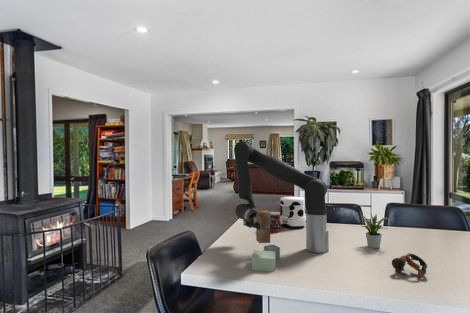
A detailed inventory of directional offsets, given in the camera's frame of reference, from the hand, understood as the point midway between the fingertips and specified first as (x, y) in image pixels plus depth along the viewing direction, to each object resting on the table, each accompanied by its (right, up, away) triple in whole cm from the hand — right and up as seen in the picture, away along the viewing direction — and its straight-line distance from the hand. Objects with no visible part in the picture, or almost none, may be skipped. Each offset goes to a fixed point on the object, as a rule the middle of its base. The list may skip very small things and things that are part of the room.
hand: (265, 226), depth 111 cm
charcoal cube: (+4, -17, +11) cm, 20 cm away
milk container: (+25, -17, +70) cm, 77 cm away
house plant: (+56, -17, +26) cm, 64 cm away
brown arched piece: (+52, -16, -6) cm, 55 cm away
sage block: (0, -17, +2) cm, 17 cm away
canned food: (+11, -17, +58) cm, 61 cm away
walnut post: (-1, -7, +3) cm, 7 cm away
